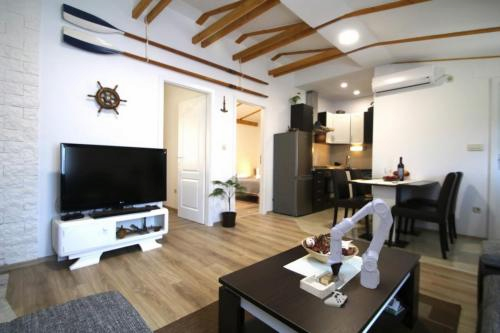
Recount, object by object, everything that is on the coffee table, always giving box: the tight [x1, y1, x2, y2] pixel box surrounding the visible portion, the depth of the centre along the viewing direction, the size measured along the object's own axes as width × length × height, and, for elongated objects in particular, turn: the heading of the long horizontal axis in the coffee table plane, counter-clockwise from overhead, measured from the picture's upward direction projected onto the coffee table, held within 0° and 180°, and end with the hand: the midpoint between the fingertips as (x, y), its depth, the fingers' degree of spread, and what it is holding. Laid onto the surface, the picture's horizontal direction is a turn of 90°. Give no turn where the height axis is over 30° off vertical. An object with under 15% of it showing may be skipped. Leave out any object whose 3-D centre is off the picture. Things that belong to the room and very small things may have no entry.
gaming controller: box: [323, 290, 349, 309], centre depth 101 cm, size 11×6×7 cm
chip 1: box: [320, 275, 333, 286], centre depth 116 cm, size 4×4×2 cm
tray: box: [299, 273, 336, 300], centre depth 110 cm, size 11×12×4 cm
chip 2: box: [326, 272, 338, 281], centre depth 119 cm, size 4×4×2 cm
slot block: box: [315, 270, 347, 291], centre depth 118 cm, size 11×12×3 cm
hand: (335, 275), depth 121 cm, fingers closed
